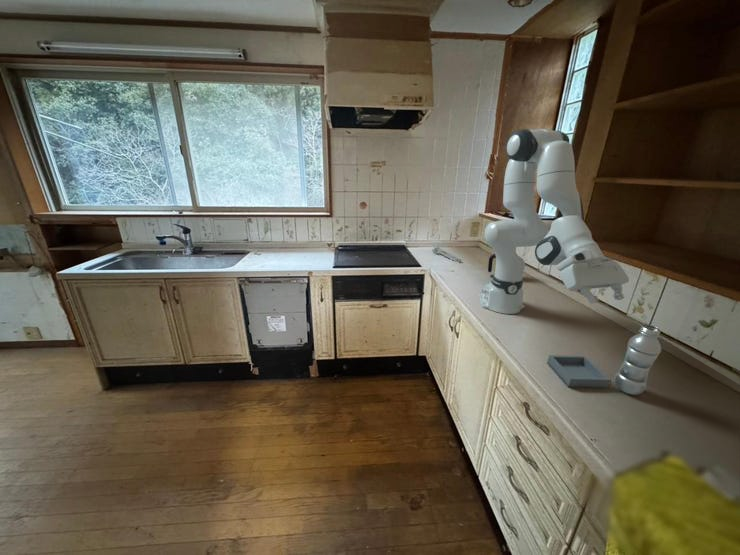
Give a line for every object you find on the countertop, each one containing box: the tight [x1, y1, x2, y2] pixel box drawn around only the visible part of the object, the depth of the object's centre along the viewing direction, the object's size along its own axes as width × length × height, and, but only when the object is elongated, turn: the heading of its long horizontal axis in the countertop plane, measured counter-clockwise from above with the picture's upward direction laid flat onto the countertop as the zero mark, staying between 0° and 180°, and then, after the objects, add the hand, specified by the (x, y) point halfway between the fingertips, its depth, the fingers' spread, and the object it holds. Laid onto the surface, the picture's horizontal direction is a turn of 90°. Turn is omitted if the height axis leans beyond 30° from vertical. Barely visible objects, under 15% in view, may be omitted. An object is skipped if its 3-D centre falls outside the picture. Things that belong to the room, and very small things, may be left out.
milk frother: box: [487, 253, 518, 279], centre depth 161 cm, size 14×16×15 cm
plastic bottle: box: [613, 323, 662, 396], centre depth 79 cm, size 6×7×20 cm
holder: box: [546, 354, 611, 389], centre depth 88 cm, size 11×11×3 cm
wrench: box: [430, 241, 462, 264], centre depth 204 cm, size 8×2×30 cm
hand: (607, 300), depth 86 cm, fingers open, 8 cm apart
